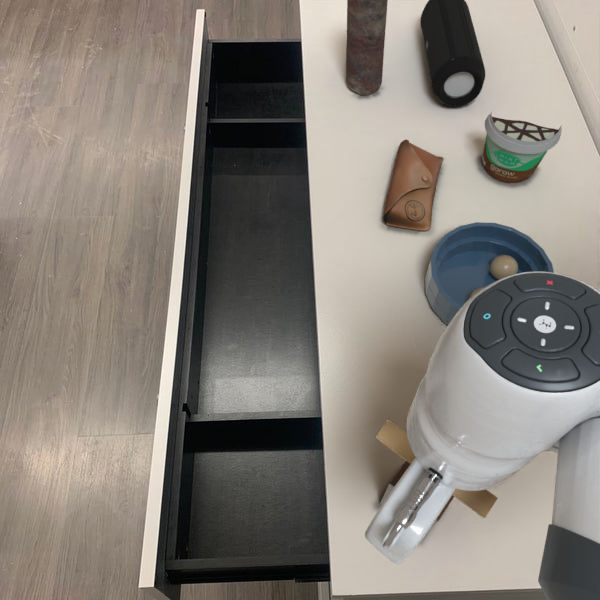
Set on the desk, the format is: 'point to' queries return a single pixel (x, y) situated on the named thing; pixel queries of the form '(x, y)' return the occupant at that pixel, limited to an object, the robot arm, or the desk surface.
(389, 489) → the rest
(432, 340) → the desk surface
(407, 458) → the tan wooden bar
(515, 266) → the ball
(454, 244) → the bowl
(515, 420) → the robot arm
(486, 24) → the desk surface
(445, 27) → the portable speaker
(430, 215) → the sunglasses case
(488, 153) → the food container
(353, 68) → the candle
